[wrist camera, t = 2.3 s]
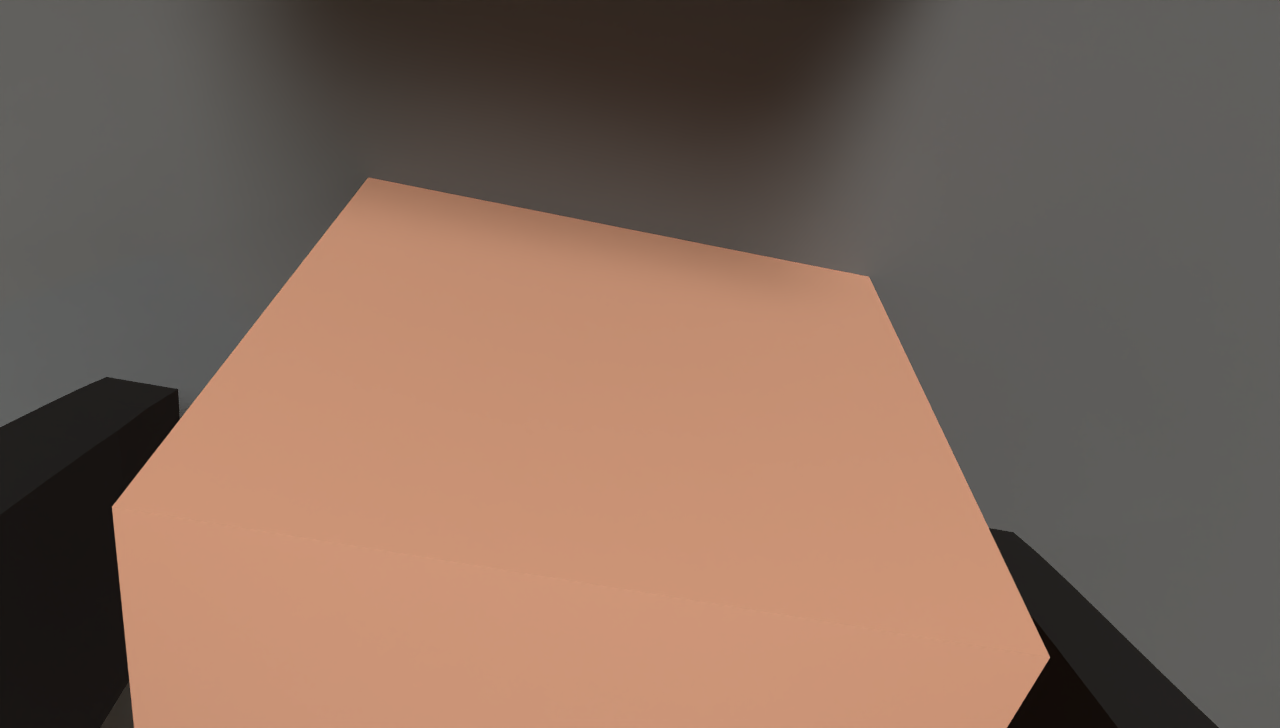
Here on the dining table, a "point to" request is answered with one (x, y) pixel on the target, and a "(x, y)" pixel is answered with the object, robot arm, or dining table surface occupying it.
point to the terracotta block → (562, 498)
